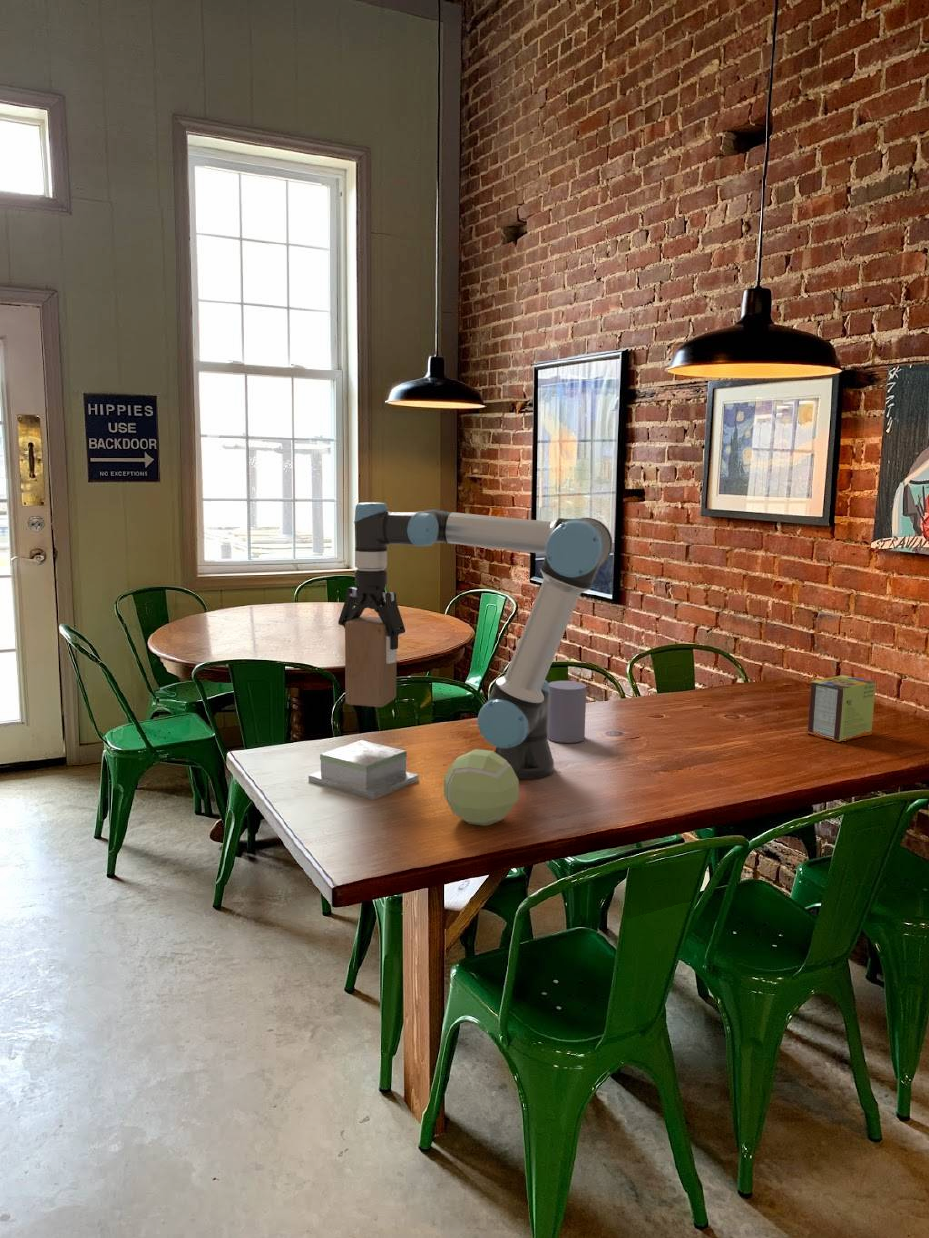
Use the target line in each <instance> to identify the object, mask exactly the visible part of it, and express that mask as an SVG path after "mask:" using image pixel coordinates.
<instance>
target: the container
mask: <svg viewBox="0 0 929 1238" xmlns="http://www.w3.org/2000/svg"><path fill="white" fill-rule="evenodd" d="M548 685H549V692H550V693H549V704H548V733H547V740H550V741H552V742H554V743H559V744H576V743H580V742H582V741H584V740H585V735H586V734H585V733H586V709H587V703H586V702H587V684H585V683H584V682H579V681H574V680H555V681H550V682H548Z"/></svg>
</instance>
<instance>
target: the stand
mask: <svg viewBox="0 0 929 1238" xmlns="http://www.w3.org/2000/svg"><path fill="white" fill-rule="evenodd" d="M407 755H408V751H406V750H404V749H399V748H396V747H391V746H387V745H383V744H379V743H374V742H370V741H368V740H367V741H366V740H364V739H360V740H358V741H356V742H351V743H348V744H346V745H344V746H340V747H336V748H333V749H331V750H329V751H328V750H327V751H325V752H322V753H320V754H319V759H320V770H319V771H317V772H314V773H311V774H309V775H308V782H309V783H312V784H317V785H320V786H324V787H327V788H330V789H333V790H338V791H340V792H343V793H347V794H351V795H355V796H358V797H361V798H365V799H368V800H372V801H374V800H376V799H379V798H381V797H384V796H387V795H388V794H389V795H390V794H392V793H393V792H397V791H398V790H401V789H403V788H406V787H407V786H410V785H412V784H414V783H417V782H419V774H417V773H413V772H409V771H407Z"/></svg>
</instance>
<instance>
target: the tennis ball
mask: <svg viewBox="0 0 929 1238" xmlns="http://www.w3.org/2000/svg"><path fill="white" fill-rule="evenodd" d="M519 782H520V779H518V778H517V776H516V774H515V772H514V770H513V768H512V766H511V765H510V764H509V763H508V762H507V760H505V759H504V758H502V757H501V756H499V755H498V754H497V753H495V750H490V749H489V750H487V749H477V748H476V749H473V750H470V751H469V752H466V753H464V754H462V755H460V756H457V758H456V759H455V760H454V761H453V762H452V764H451V765H450V766H449V769H448V771H447V772H446V774H445V776H444V778H443V796H444V798H445V800H446V802H447V805H448V806H449V807H450V810H451V812H452V814H453V815H455V816H457V817H459V818H460V819H462V820H463V821H465V822H466V823H467V824H469V825H476V826H484V827H488V826H491V825H492V824H495V823H497V822H499V821H502V820H503V819H504V818H505V817H507V816H508V814H509V812H510V811H511V810H512V807H514V805H515V803H516V802H517V800H518V799H519V785H520V784H519Z"/></svg>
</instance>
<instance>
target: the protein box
mask: <svg viewBox="0 0 929 1238" xmlns="http://www.w3.org/2000/svg"><path fill="white" fill-rule="evenodd" d="M876 684H877V682H876V681H873V680H868V679H865V678H859V677H854V676H849V675H844V674H840V675H838V676H831V677H827V678H821V679H817V680H811V681H810V693H809V694H810V695H809V707H808V721H807V724H808V725H807V732H808V731H809V732H814V733H817V734H820V735H823V736H826V737H829V738H832V739H836V740H839V741H841V740H843V739H846V738H851V737H853V736H856V735H860V734H862V733H865V732H871V731H872V732H873V730H872V728H873V722H874V719H873V718H874V708H875V697H876V687H877V685H876ZM872 732H871V733H872Z"/></svg>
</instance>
